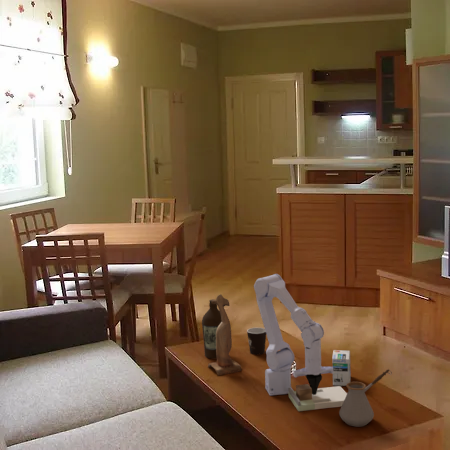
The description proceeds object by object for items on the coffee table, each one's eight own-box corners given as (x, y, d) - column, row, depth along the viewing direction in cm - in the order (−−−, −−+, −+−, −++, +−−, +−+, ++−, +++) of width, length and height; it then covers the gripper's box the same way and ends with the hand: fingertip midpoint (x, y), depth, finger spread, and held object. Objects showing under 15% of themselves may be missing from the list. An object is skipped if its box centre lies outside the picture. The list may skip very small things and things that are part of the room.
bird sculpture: (243, 371, 278) (242, 295, 274) (217, 376, 273) (216, 298, 269) (231, 363, 288) (229, 290, 284) (206, 368, 283) (204, 293, 279)
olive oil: (207, 350, 304) (205, 296, 301) (230, 351, 301) (227, 297, 298) (200, 358, 294) (197, 303, 290) (223, 360, 291) (221, 303, 288)
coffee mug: (267, 355, 295) (266, 333, 294) (247, 355, 295) (247, 333, 294) (266, 346, 307) (265, 325, 305) (247, 347, 307) (246, 325, 305)
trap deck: (298, 411, 237) (298, 401, 236) (288, 396, 250) (288, 387, 249) (352, 405, 240) (352, 395, 240) (340, 391, 253) (340, 382, 252)
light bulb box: (350, 386, 257) (349, 359, 255) (332, 385, 258) (331, 358, 257) (350, 376, 267) (350, 350, 266) (333, 375, 269) (333, 349, 267)
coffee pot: (355, 432, 219) (354, 388, 217) (332, 420, 229) (331, 377, 227) (402, 415, 230) (402, 373, 228) (378, 404, 240) (378, 364, 238)
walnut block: (299, 400, 241) (299, 390, 240) (296, 395, 245) (295, 385, 245) (312, 399, 242) (311, 388, 241) (308, 394, 246) (308, 383, 246)
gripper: (296, 363, 237) (297, 400, 239) (336, 359, 239) (336, 395, 241) (291, 356, 244) (292, 392, 246) (329, 352, 246) (330, 388, 248)
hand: (313, 393), depth 244 cm, fingers closed
